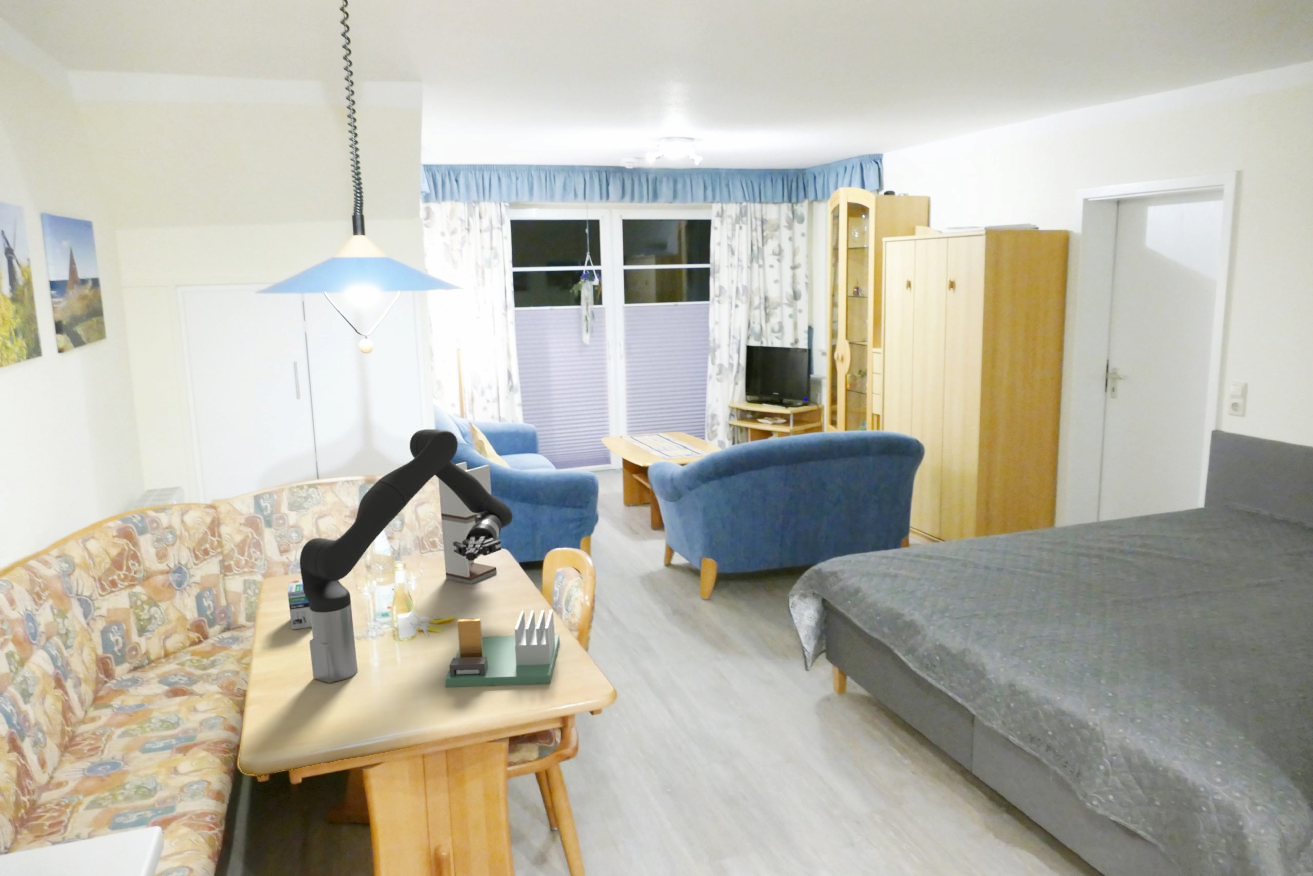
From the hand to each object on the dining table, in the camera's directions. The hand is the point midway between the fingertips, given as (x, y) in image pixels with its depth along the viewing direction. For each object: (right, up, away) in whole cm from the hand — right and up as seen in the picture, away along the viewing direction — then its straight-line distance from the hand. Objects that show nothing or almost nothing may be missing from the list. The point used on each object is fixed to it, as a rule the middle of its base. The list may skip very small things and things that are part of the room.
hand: (470, 556), depth 228 cm
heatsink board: (+10, -25, -6) cm, 27 cm away
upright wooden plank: (+3, -24, -14) cm, 28 cm away
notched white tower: (-12, -14, +58) cm, 61 cm away
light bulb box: (-51, -21, +25) cm, 61 cm away
